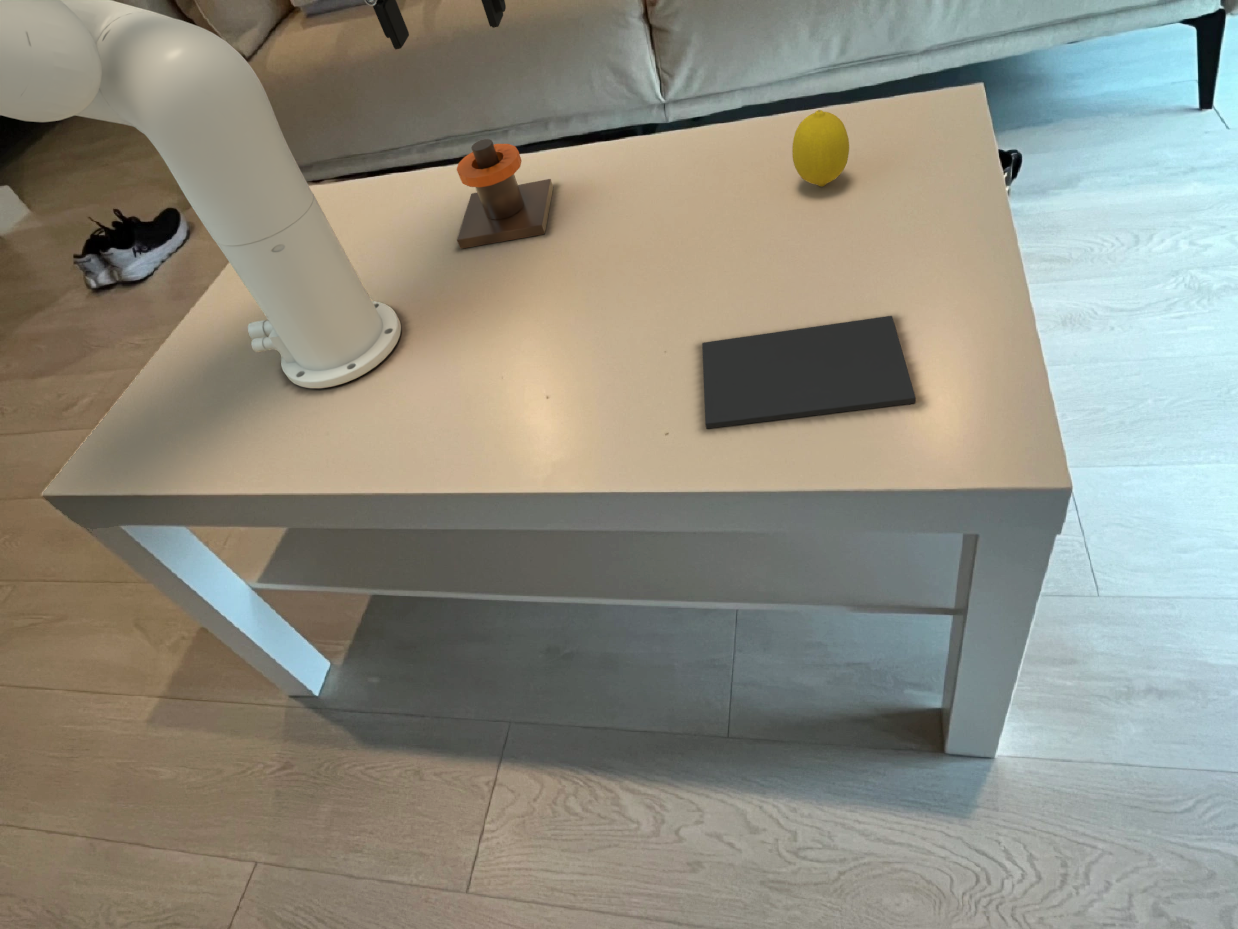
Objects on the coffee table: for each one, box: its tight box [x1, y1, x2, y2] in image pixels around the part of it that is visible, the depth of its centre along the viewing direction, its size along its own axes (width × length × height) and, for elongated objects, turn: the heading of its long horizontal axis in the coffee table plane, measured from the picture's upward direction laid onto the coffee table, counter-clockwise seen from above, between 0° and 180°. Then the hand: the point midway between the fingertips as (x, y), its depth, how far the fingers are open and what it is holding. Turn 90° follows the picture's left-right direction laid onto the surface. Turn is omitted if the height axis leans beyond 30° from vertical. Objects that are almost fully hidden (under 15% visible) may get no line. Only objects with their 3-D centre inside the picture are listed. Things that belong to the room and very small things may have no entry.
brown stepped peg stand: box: [456, 138, 554, 250], centre depth 91 cm, size 10×10×9 cm
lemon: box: [791, 109, 850, 188], centre depth 82 cm, size 6×6×8 cm
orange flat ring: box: [456, 143, 522, 188], centre depth 90 cm, size 7×7×1 cm
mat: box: [701, 315, 917, 429], centre depth 67 cm, size 16×10×1 cm, turn 88°
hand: (449, 32), depth 77 cm, fingers open, 9 cm apart
